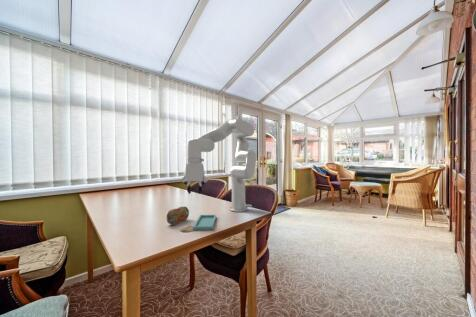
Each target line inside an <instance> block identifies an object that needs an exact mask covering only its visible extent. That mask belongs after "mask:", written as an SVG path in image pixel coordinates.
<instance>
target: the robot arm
mask: <svg viewBox="0 0 476 317" xmlns="http://www.w3.org/2000/svg"><path fill="white" fill-rule="evenodd" d="M231 134H233V136H234V139H235V140H236V148H235V155H234V161H235V162H236V163H237V164H234V165H233V166H231V167H230V169H229V170H230V171H229V172H230V180H231V206H230V207H229V211H231V212H234V213H236V212H237V213H241V212H246V211H247V210H248V208H253V206H252V204H248V203H246V182H245V180H252V179H253V177H254V175H255V170H256V166H257V165H256V163H257V153H256V152H255V151H254V150H253V149H249V141H248V139H247V137H251V136H253V135H254V134H255V127H254V125H253V124H252V123H251V122H247V121H246V120H243V119H241V118H233V119H228V120H226V121H224V122H223V123H222V124H220V125H219V126H217V127H215V128H214V129H212V130H210V131H208V132H206V133H205V134H202V135H201V136H199V137H198V138H190V139H188V140H187V163H186V166H185V170H184V171H185V173H184V176H183V177H182V179H181V182H182V183H184V185H185V186H186V187H187V193H188V194H189V195H190V194H191V193H192V189H191V188H192V186H191V182H198V194H201V193H202V192H203V185H204V184H206V183H207V182H208V181H209V179H208V178H207V177H206V176H205V171H204V170H205V169H204V164H203V163H202V162H204V161H205V159H204V158H202V153H211V152H212V151H213V150H214V149H215V145H216V144H215V143H219V142H222V141H224V140H225V139H226V138H228V136H230V135H231Z"/></svg>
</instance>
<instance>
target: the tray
mask: <svg viewBox="0 0 476 317" xmlns="http://www.w3.org/2000/svg"><path fill="white" fill-rule="evenodd" d="M216 220H217V214H200V215H199V216H198V217H197V219H196V221H195V222H194V224H193V225H192V226H193V229H194V231H213V229H214V227H215V223H216Z"/></svg>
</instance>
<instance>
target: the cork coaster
mask: <svg viewBox="0 0 476 317" xmlns="http://www.w3.org/2000/svg"><path fill="white" fill-rule="evenodd" d="M193 226H194V225H184V226H182V227H180V228H179V231H180V232H182V233H190V232H194V231H195V230H194V229H193Z"/></svg>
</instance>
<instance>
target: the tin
mask: <svg viewBox="0 0 476 317" xmlns="http://www.w3.org/2000/svg"><path fill="white" fill-rule="evenodd" d="M189 214H190V210H189V208H188V207H187V206H179V207H176V208H172V209H170V210H168V212H167V214H166V222H167V223H168V224H169V225H174V226H175V225H178V224H180V223H182V222H185V221H187V219H188V218H189Z"/></svg>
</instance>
